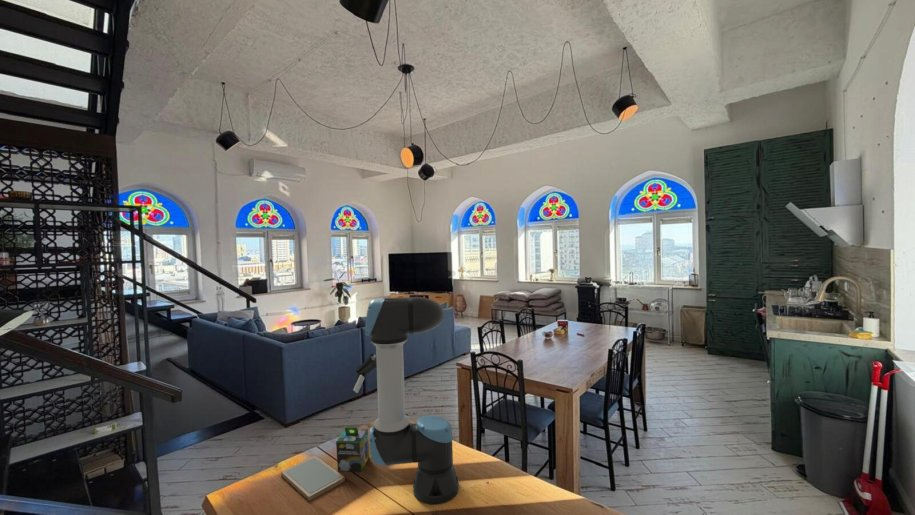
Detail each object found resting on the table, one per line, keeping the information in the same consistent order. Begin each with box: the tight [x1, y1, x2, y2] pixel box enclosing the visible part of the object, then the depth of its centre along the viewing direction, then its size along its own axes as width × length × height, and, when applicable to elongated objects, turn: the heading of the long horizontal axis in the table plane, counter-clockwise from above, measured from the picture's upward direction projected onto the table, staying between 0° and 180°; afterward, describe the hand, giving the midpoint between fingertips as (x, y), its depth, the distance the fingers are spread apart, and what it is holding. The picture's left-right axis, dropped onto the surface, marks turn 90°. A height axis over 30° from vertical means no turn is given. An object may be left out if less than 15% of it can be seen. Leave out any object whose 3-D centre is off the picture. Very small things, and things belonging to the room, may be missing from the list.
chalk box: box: [335, 426, 370, 473], centre depth 143 cm, size 9×9×15 cm
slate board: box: [280, 455, 346, 502], centre depth 136 cm, size 20×13×2 cm, turn 48°
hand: (369, 394), depth 152 cm, fingers open, 13 cm apart
